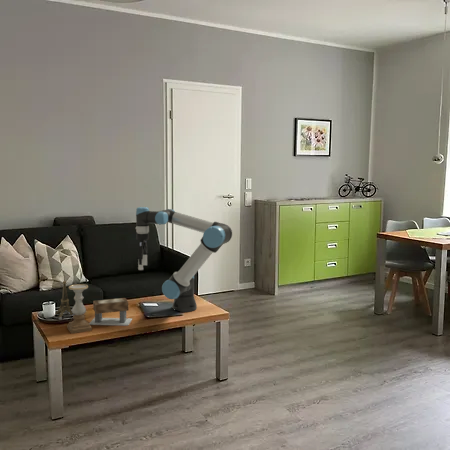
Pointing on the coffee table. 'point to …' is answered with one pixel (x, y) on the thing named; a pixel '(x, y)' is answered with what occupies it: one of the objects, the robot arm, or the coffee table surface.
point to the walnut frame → (110, 305)
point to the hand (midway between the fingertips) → (142, 267)
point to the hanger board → (111, 320)
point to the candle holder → (78, 311)
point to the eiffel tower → (64, 301)
